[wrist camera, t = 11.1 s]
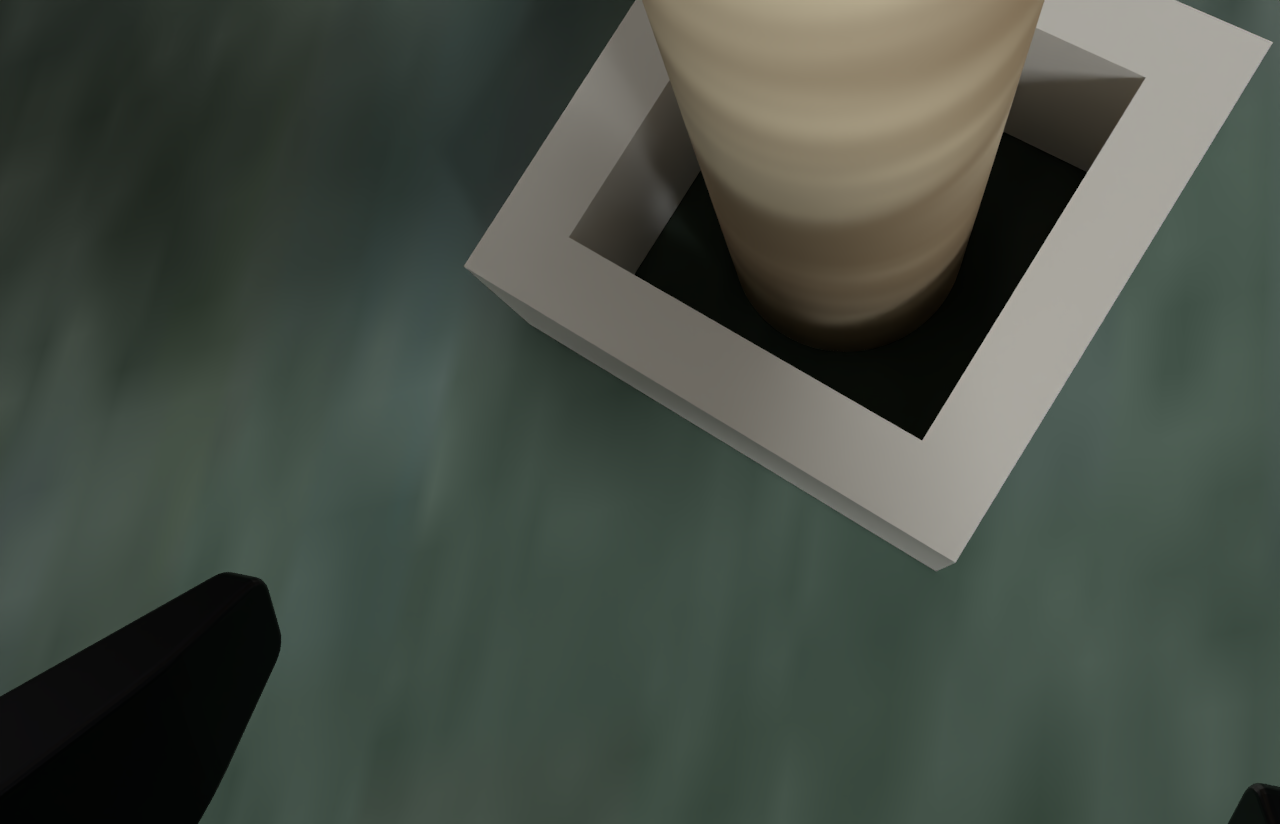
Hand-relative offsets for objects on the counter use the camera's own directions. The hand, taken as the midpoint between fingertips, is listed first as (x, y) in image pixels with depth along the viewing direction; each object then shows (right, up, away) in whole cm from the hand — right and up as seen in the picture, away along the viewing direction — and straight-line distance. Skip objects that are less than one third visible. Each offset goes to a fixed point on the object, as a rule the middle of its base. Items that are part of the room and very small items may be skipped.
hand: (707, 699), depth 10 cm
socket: (+3, +6, +9) cm, 11 cm away
